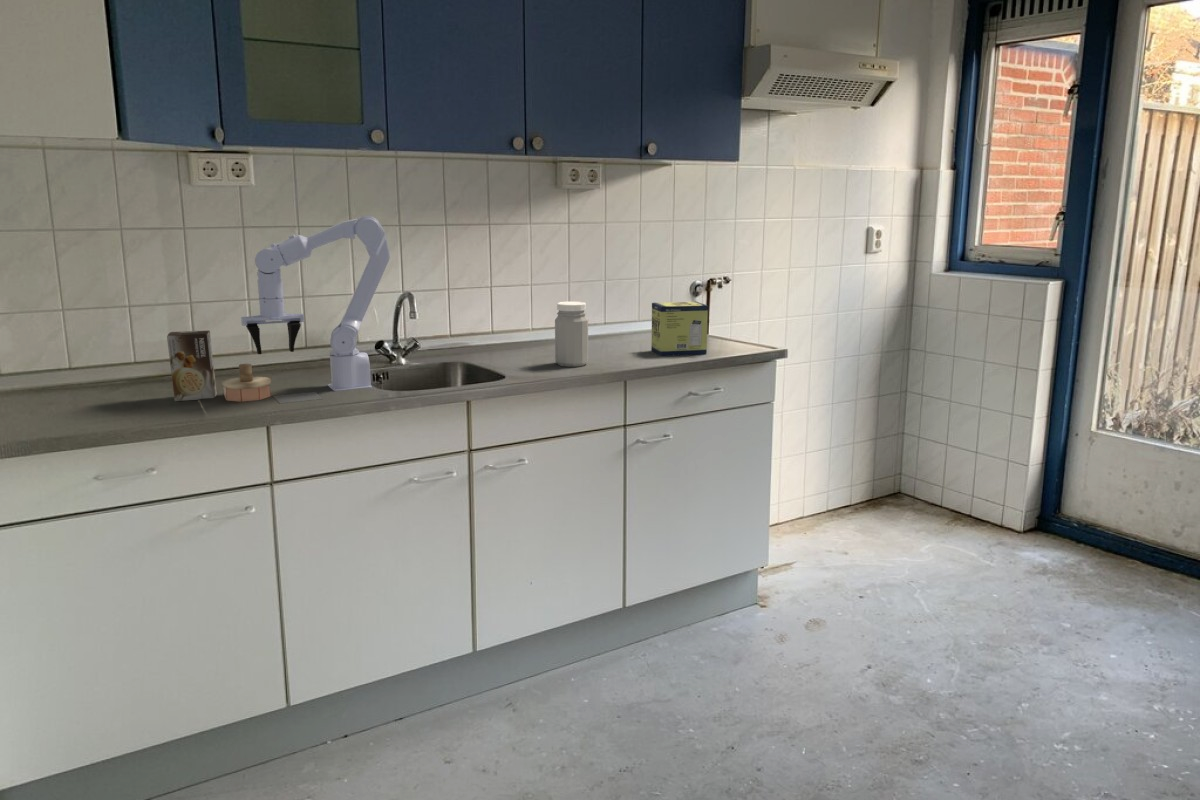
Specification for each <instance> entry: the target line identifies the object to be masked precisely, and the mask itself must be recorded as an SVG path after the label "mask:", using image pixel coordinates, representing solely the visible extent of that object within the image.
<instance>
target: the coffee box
mask: <svg viewBox="0 0 1200 800" xmlns="http://www.w3.org/2000/svg"><path fill="white" fill-rule="evenodd" d="M166 339H167V340H166V341H167V347H168V357H169V364H170V374H171V382H172V389H173V399H174V402H181V401H182V402H183V401H198V400H199V401H200V400H202V399H215V398H216V396H217V394H218V393H217V392H218V391H217V386H216V374H215V368H214V358H213V349H212V340H211V339H212V338H211V330H189V331H188V330H185V331H170V332H169V333H168V334H167V336H166Z"/></svg>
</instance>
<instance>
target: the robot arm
mask: <svg viewBox="0 0 1200 800" xmlns="http://www.w3.org/2000/svg"><path fill="white" fill-rule="evenodd" d="M356 236H357V237H358V239H359V240H360V241H361V243H362V244H363V245H364V247H365V249H366V251H367V253H368V256H369V259H368V261H367V264H366V266H365V268H364V269H363V272H362V275H361V277H360V279H359V281H358V284H357V285H356V288H355V290H354V292H353V294H352V297H351V300H350V302H349V304H348V306H347V308H346V310H345V313H344V315H343V316H342V318H341V321H340V323H339V324H338V325H337V326H336V327H335V328H334V329H333V330H332V331H331V333H330V339H329V341H330V347H331V349H332V350H330V351H329V363H330V377H331V383H329V384H328V383H327V386H328V387H329V388H330V389H331V390H332V391H334V392H337V391H348V390H357V389H358V390H359V389H369V388H370V389H371V388H372V387H373V386H372V384H371V383H372V382H371V365H370V364H371V363H370V358H369V355H368V353H367V352H364V351H363V352H362V351H361V352H360V350H359V349H358V348H356V346H357V336H358V333H359V331H360V327H361V325H362V322H363V319H364V317H365V315H366V312H367V311H368V309H369V306H370V304H371V302H372V299H373V297H374V295H375V293H376V291H377V289H378V287H379V284H380V282H381V279H382V277H383V275H384V274H385V273H384V272H385V270H386V268H387V266H388V263H389V261H390V259H391V256H390V255H391V254H390V250H389V246H388V245H389V244H388V241H387V235H386V232H385V230H384V228H383V226H382V225H381V223H380V221H379V220H378V219H377V218H375V217H374V216H372V215H364V216H361V217H360V218H359V219H358V218H354V219H353V218H352V219H349V220H345V221H342V222H339V223H337V224H335V225H333V226H331V227H328V228H326V229H324V230H321V231H319V232H316V233H315V234H312V235H310V236H307V237H306V236H304V235H302V234H298V235H295V234H291V235H289V236H288V239H285V240H283V241H281V242H278V243H275V242H273V243H271V244H270V245H269V246H270V248H269V247H267V248H262V249H261V250H260V251H258V252H257V254H256V255H255V257H254V263H255V266H256V268H257V272H256V273H257V274H256V276H257V290H258V301H259V302H258V304H259V314H258V315H250V316H249V315H248V316H242V317H240V321H241V326H243V327H244V326H246V330H248V333H249V334H250V337H251V338H252V340H253V343H254V345H255V349H256V353H257V354H258V355H262V354H263V353H262V345H261V333H260V330H261V329H260V327H259V325H267V324H268V325H271V324H272V325H273V324H283V323H284V324H286V325H287V332H288V333H287V334H288V348H289V349H288V350H289V352H292V353H293V352H295V344H296V339H297V336H298V333H299V331H300V329H301V325H302V324H301V323H304V322H305V314H304V313H285V299H284V285H283V278H282V274H281V266H282V267H283V266H284V267H288V266H291V265H292V264H295V263H299V262H300V261H302V260H305V259H307V258H309V257H311V255H312V251H313V250H315V249H317V248H319V247H323V246H325V245H328V244H330V243H332V242H335V241H337V240H340V239H351V240H352V239H353V240H354V239H355V238H356Z"/></svg>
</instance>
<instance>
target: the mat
mask: <svg viewBox="0 0 1200 800" xmlns="http://www.w3.org/2000/svg"><path fill="white" fill-rule="evenodd" d="M272 396H273V398H274V400H276V401H277V403H278V404H279V405H280V404H289V403H300V402H308V401H309V402H310V401H319V400H324V398H322V396H320V395H319V394H318V393H317V392H316V391H312V392H311V391H310V392H309V391H308V392H299V393H290V394H289V393H288V394H281V395H280V394H278V395H272Z"/></svg>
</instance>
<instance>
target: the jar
mask: <svg viewBox="0 0 1200 800" xmlns="http://www.w3.org/2000/svg"><path fill="white" fill-rule="evenodd" d="M556 308H557V309H556V310H558V311H557V313H556V314H557V316H556V318H555V319H554V353H555V355H554V360H555V363H556V364H557V365H558V366H560V367H567V368H568V367H569V368H570V367H571V368H573V367H574V368H575V367H576V368H577V367H582V366H585V365H586V364H587V363H588V361H589V318H588V317H587V315H586V314H587V313H586V309H587V303H586V302H583V301H572V300H571V301H570V300H569V301H559V302H558V303H556Z"/></svg>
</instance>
